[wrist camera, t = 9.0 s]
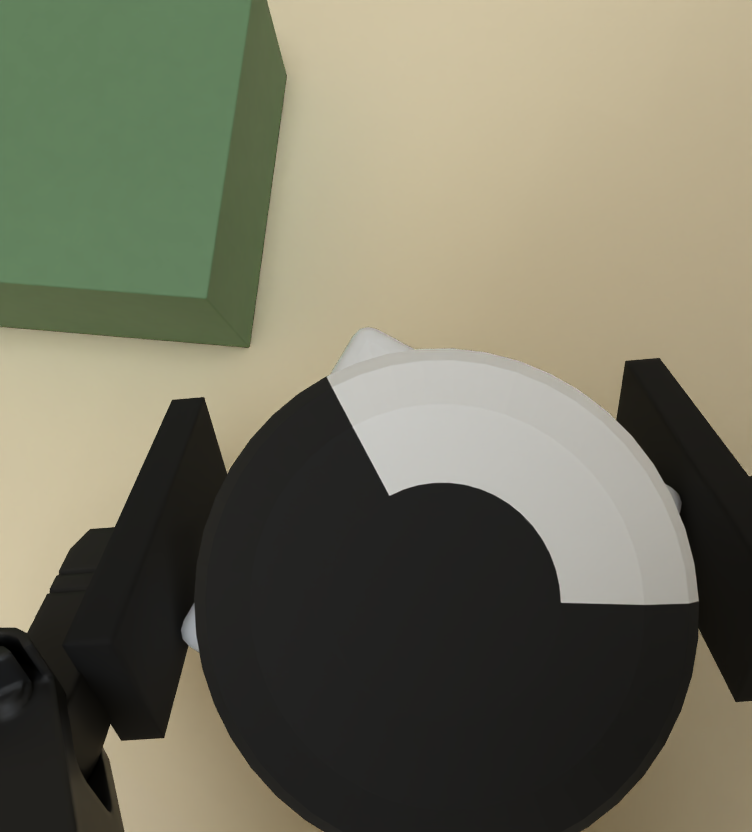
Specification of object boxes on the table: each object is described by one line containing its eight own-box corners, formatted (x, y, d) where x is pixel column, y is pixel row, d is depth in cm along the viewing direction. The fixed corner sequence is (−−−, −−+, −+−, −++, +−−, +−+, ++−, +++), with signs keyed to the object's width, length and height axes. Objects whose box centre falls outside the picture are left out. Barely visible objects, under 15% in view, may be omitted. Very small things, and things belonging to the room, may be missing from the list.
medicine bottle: (472, 728, 18) (593, 1133, 6) (258, 596, 19) (-3, 719, 7) (588, 505, 19) (895, 474, 7) (378, 390, 20) (328, 185, 8)
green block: (286, 75, 25) (257, -38, 20) (249, 348, 23) (206, 298, 18) (15, 59, 25) (-79, -54, 20) (-42, 323, 23) (-161, 269, 19)
